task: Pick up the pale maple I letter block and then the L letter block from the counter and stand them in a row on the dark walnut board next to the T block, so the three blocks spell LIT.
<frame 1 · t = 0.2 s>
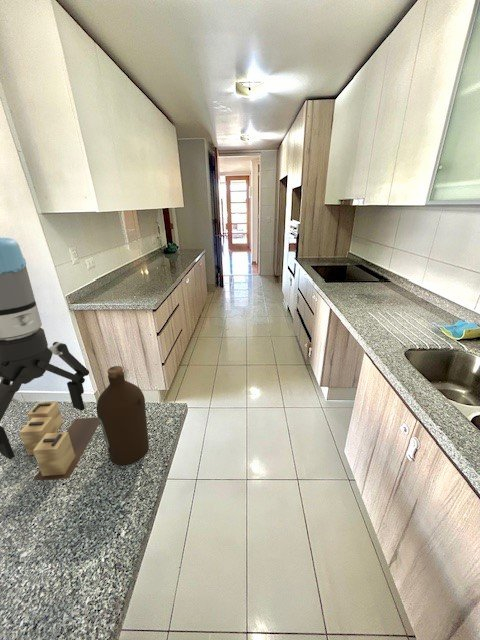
hand: (47, 429, 52), 17 cm above the countertop, tool pointing down, fingers open, 13 cm apart
word board: (73, 446, 69), on the countertop
letter T: (59, 465, 63), point 1 cm above the countertop, touching word board
letter L: (49, 429, 74), on the countertop
letter I: (44, 447, 69), on the countertop
olive oil: (130, 451, 68), on the countertop
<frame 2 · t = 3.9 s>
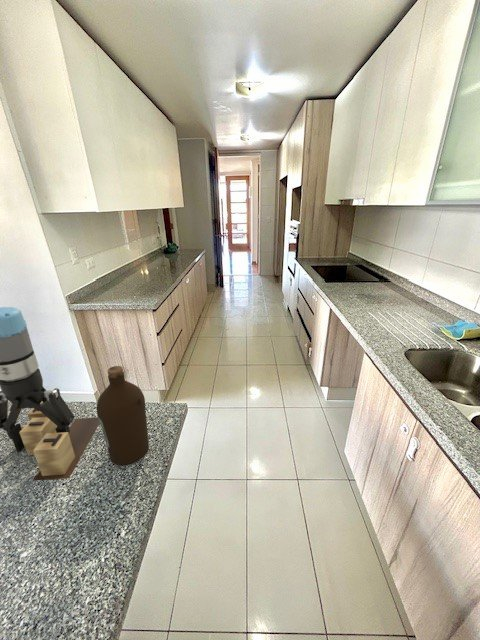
hand: (44, 445, 68), 1 cm above the countertop, tool pointing down, fingers open, 10 cm apart
nothing on the countertop moved.
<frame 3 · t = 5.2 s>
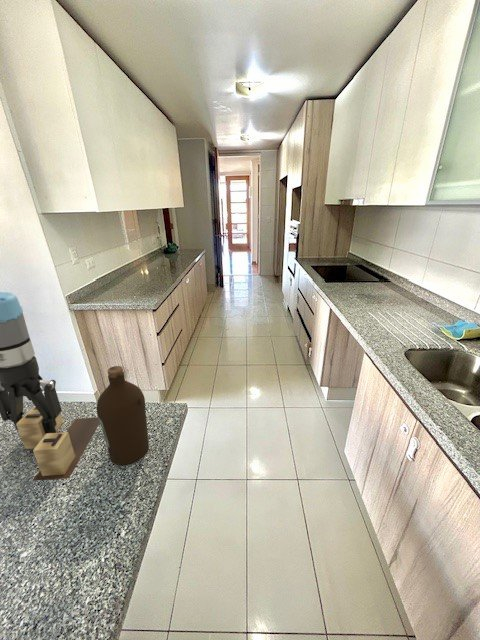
hand: (40, 438, 67), 3 cm above the countertop, tool pointing down, fingers closed on letter I, 5 cm apart
letter I: (41, 440, 68), point 2 cm above the countertop, touching gripper
everything else where it was.
when the fingers open (1 cm above the countertop, at t = 9.8 s): letter I stays where it is, resting on word board.
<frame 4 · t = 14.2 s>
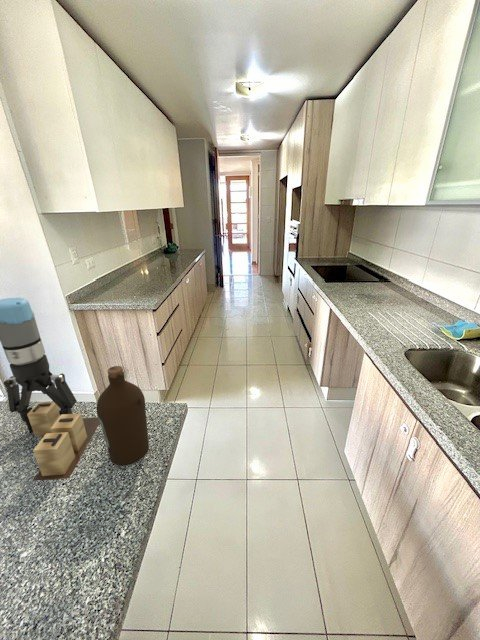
hand: (51, 427, 74), 1 cm above the countertop, tool pointing down, fingers open, 9 cm apart
letter I: (73, 444, 69), point 1 cm above the countertop, touching word board
everything else where it was.
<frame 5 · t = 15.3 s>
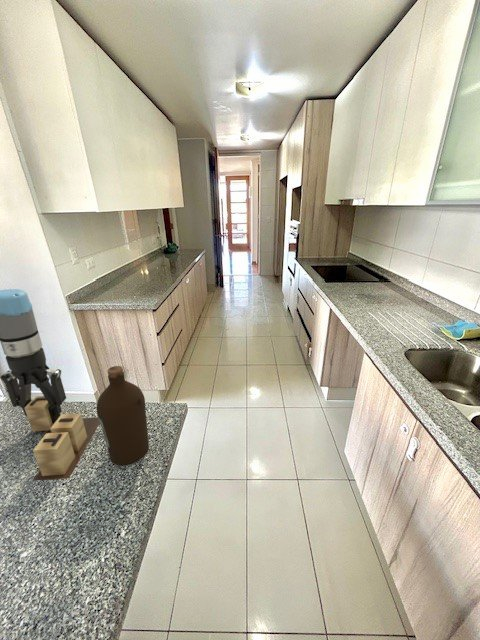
hand: (46, 423, 74), 2 cm above the countertop, tool pointing down, fingers closed on letter L, 5 cm apart
letter L: (47, 424, 74), point 2 cm above the countertop, touching gripper
everything else where it was.
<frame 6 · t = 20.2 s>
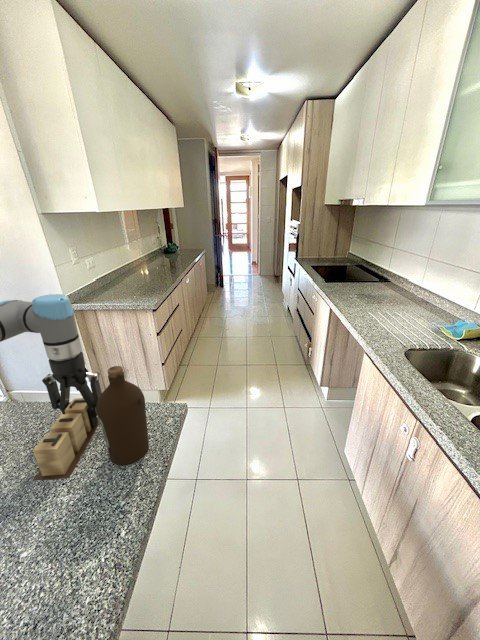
hand: (84, 425, 75), 1 cm above the countertop, tool pointing down, fingers closed on letter L, 5 cm apart
letter L: (84, 426, 75), point 1 cm above the countertop, touching gripper
everything else where it was.
when the fingers open (2 cm above the countertop, at t = 24.2 s): letter L stays where it is, resting on word board.
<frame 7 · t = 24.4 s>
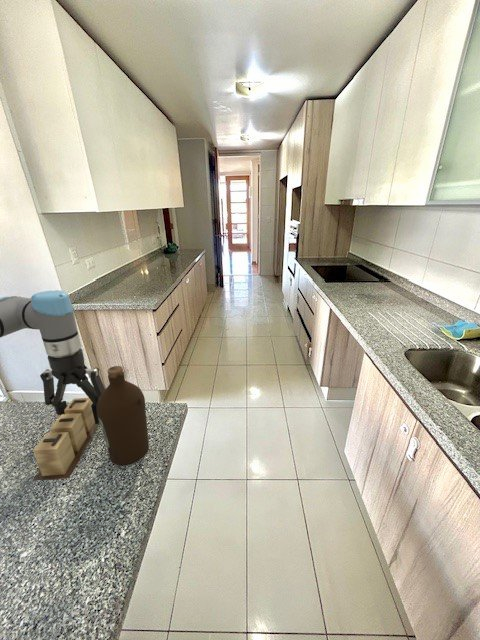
hand: (82, 421, 74), 2 cm above the countertop, tool pointing down, fingers open, 8 cm apart
letter L: (84, 426, 75), point 1 cm above the countertop, touching word board
everything else where it was.
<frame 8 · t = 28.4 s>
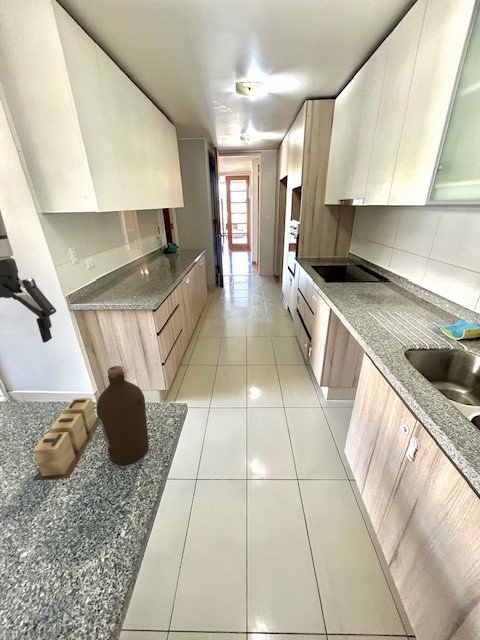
hand: (20, 341, 68), 27 cm above the countertop, tool pointing down, fingers open, 13 cm apart
nothing on the countertop moved.
at the end: letter I 0.1 cm from the target spot, point 0.6 cm above the countertop; letter L 0.1 cm from the target spot, point 0.6 cm above the countertop; letter T moved 0.0 cm from its start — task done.
